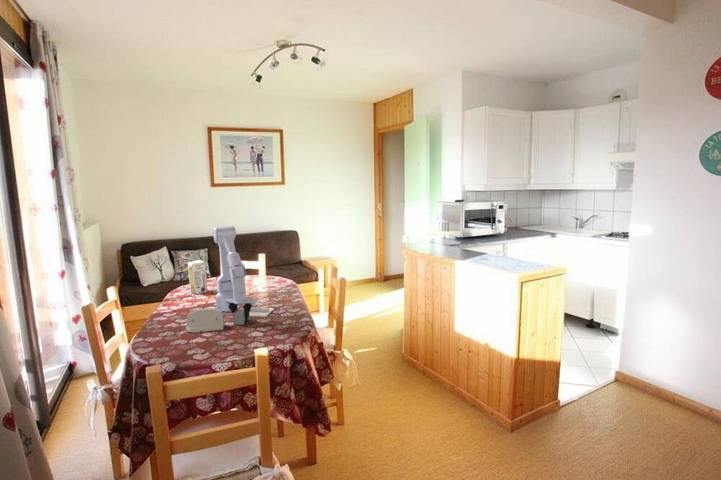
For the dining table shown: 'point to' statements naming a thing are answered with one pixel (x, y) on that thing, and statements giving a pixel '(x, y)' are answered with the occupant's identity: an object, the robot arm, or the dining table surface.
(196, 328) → the light grey flat block
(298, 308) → the dining table surface
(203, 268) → the juice carton
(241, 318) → the module
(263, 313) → the rail board
